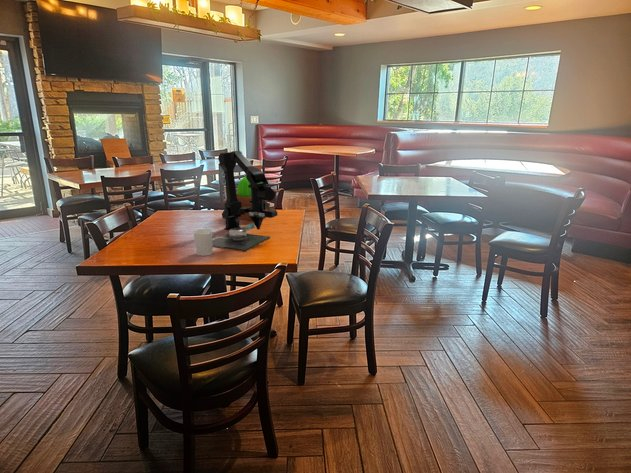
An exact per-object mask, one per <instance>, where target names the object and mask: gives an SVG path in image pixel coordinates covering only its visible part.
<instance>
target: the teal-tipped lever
mask: <svg viewBox="0 0 631 473" xmlns="http://www.w3.org/2000/svg"><path fill="white" fill-rule="evenodd" d="M240 227H241V228H233V229H230V230H228V233H229V235H230V238H234V239H239V238H244V237H246V236H247V234H248V231H250V230H252V229H255V228H256V226H255V224H254V222H249V223H248V224H246V225H244V226H240Z"/></svg>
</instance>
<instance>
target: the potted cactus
mask: <svg viewBox="0 0 631 473" xmlns="http://www.w3.org/2000/svg"><path fill="white" fill-rule="evenodd" d="M258 184H259V183H258ZM249 185H250V183H249V181H248V180H247V178H246V175H245V176H243V178H241V179H240V180H239V181H238V184H237V188H236V195H237V199H238V200H239V201H241V206H242V207H251V209H252V205H251V203H250V200H251V188H249V187H248V186H249ZM265 202H266V203H269V201H267V200H265ZM264 211H267V209H266V210H264ZM260 213H261V212H260ZM249 216H250V214H249V213H245V214H244V215H241V217H238V219H241V220H245V221H246V220H247V221H252V219H251V218H250V217H249ZM265 218H266V217H264V219H265Z"/></svg>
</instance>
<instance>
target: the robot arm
mask: <svg viewBox="0 0 631 473" xmlns="http://www.w3.org/2000/svg"><path fill="white" fill-rule="evenodd" d="M217 159H218V162H219V166H220V168H221V169H222V170H223V175H224V183H225V191H226V201H225V202H224V210H223V211H222V213H221V218H223V219H224V220H225V227H224V228H223V229H224V230H227V231H229V230H230V229H233V228H241V227H242V226H240V220H239V219H240V218H238V217H241V215H244V214H245V213H249V214H250V216H249V217H250V218H251V219H252V220H251V221H252V223H254V224H255V228H256V229H257V230H261V226H262V224H263V221H264V219H265V218H266V219H267V218H269V219H273V218H275V217H277V216H278V211H277V210H276V209H272V208H271V209H270V206H271V203H269V202H271V201H273V200H274V199H275V197H276V192H275V190H274V189H273V188H272V186H271V185H270V184H269V181H268V179H267V177H266V175H265V173H264V172H263V171H262V170H261V169H259V168H258V167H255V166H254V165H253V164H252V163H251V162H250V161H249V160H248V159H247V158H246V156H244V155H243V152H242V151H241V150H232V151H230V152H221V153H220V154H219V155H218V158H217ZM236 165H238V167H240V169H241V170H242V171H243V172H244V174H245V176H246V178H247V180H248V181H249V183H250V185H249V186H248V187H249V188H251V200H250V203H251V205H252V209H251V207H242V206H241V201H239V200H238V199H237V195H236V192H237V188H236V180H235V168H236ZM258 183H259V184H258ZM265 200H267V201H268V202H267V203H266V202H265ZM266 209H267V211H264V210H266ZM260 212H261V213H260ZM264 217H265V218H264Z"/></svg>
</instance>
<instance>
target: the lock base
mask: <svg viewBox="0 0 631 473" xmlns="http://www.w3.org/2000/svg"><path fill="white" fill-rule="evenodd" d="M269 239H271V236H268V235H263V234H262V235H260V234H252V233H247V236H246V237H244V238H239V239H234V238H230V235H229V232H228V233H227V234H224V235H222V236H216V238H215V239H213V247H212V248H220V249H226V250H230V251H231V250H234V251H239V252H247V251H249V250H250V249H253V248H255V247H257V246H259V245H260V244H262V243H265V241H268V240H269Z"/></svg>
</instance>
